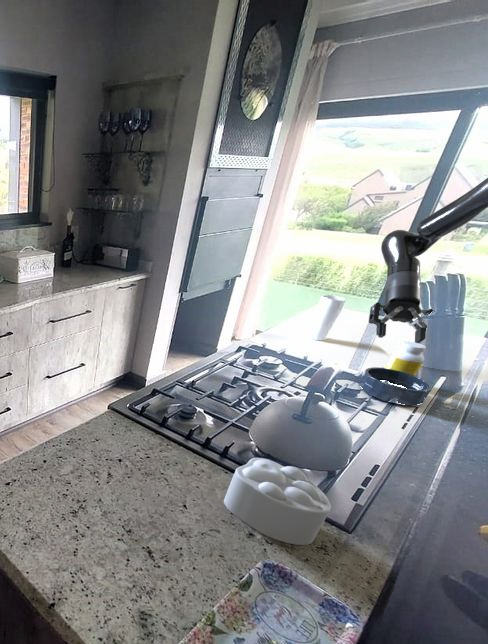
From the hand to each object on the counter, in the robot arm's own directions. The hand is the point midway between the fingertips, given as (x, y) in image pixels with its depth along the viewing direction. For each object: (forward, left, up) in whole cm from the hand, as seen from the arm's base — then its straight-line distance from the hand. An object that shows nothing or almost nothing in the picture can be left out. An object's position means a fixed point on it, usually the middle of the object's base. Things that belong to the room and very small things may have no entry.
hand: (400, 339), depth 117 cm
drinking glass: (+22, -13, -11) cm, 28 cm away
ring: (-6, +17, -10) cm, 21 cm away
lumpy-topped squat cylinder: (-9, +91, -11) cm, 92 cm away
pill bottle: (-4, +6, -11) cm, 13 cm away
